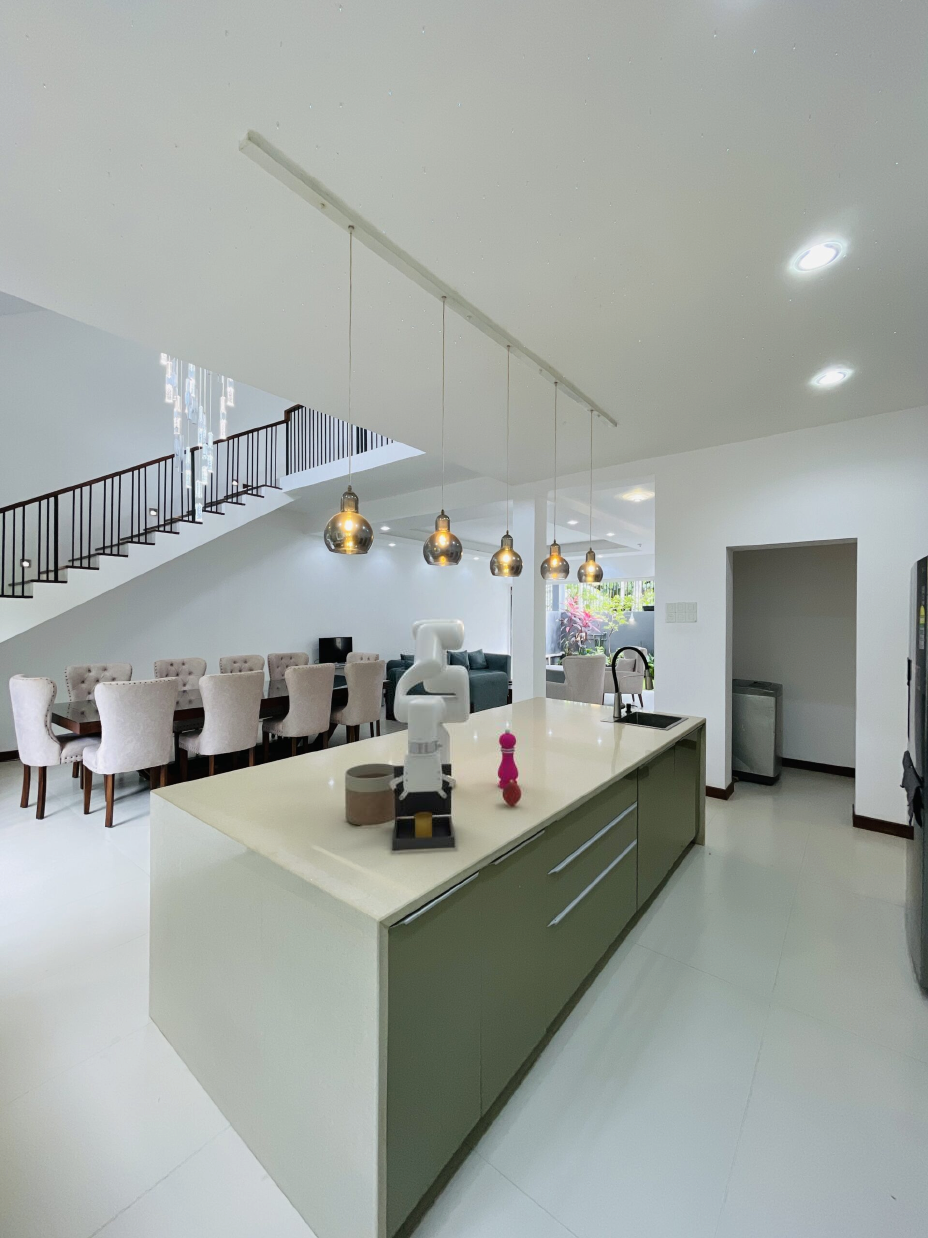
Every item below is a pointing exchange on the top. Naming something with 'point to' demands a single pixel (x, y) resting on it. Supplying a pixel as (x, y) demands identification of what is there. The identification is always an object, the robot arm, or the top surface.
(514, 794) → the onion
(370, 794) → the planter
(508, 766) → the pepper mill
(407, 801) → the lid
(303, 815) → the top surface
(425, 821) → the coffee pod
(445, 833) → the dark grey lidded tray
